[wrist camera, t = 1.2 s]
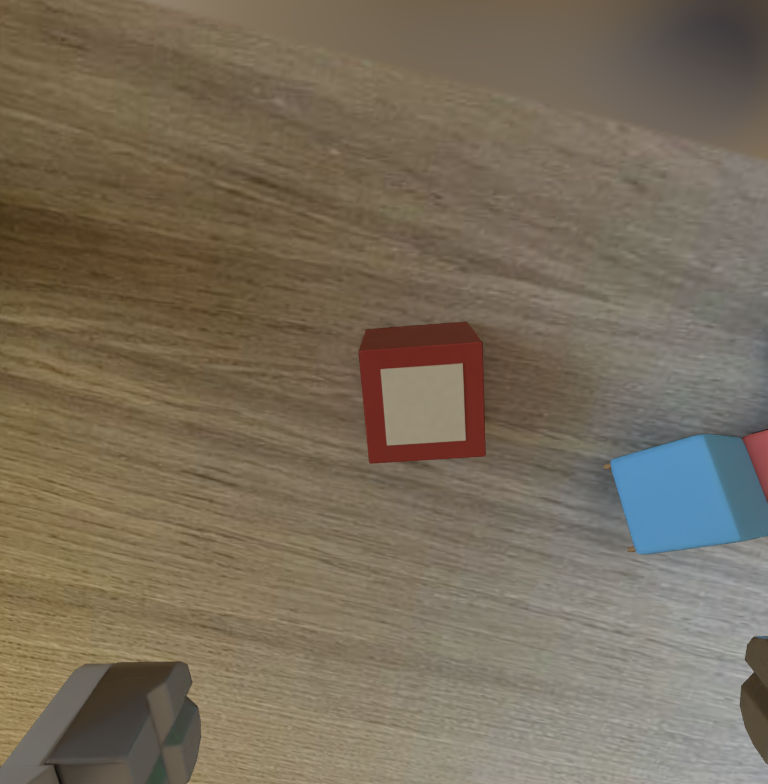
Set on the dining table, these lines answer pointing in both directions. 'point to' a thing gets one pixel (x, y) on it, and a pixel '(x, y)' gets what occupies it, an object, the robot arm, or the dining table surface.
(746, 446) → the building blocks
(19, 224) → the dining table surface
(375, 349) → the red letter block
